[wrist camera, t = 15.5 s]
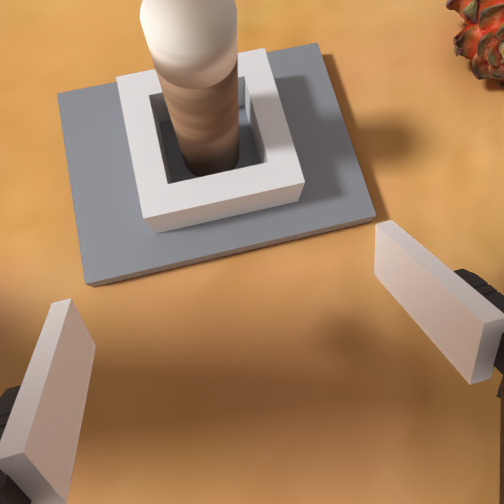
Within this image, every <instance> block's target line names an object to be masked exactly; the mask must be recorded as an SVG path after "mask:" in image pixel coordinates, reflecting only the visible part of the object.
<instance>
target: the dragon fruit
mask: <svg viewBox="0 0 504 504" xmlns="http://www.w3.org/2000/svg"><path fill="white" fill-rule="evenodd" d="M446 7H447V9H449V10H455V11H457V12H458V13H459V14H460V15H461V17H462V18H463V19H464V20H465V23H466V25H467V27H466V28H464V29H463V30H462V31H461V32H460V33H459V34H458V35H456V36H455V37H454V40H453V41H454V45H455V49H454V51H455V54H456V56H458V55H461V56H464V57H467V58H469V59H470V64H471V66H472V72H473V74H474V76H475V77H476V78H477V79H479V80H480V79H492V78H495V80H496V82H497V84H498V85H499V87H500V89H504V0H448V1H447V3H446Z"/></svg>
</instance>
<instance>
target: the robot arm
mask: <svg viewBox="0 0 504 504" xmlns="http://www.w3.org/2000/svg"><path fill="white" fill-rule="evenodd" d="M374 275H375V276H376V277H377V278H378V280H379V281H380V282H381V283H382V284H383V285H384V286H385V288H386V289H387V290H388V291H389V292H390V293H391V295H392V296H393V297H394V298H395V299H396V300H397V301H398V303H399V304H400V305H401V306H402V307H403V308H404V310H405V311H406V312H407V313H408V314H409V315H410V316H411V318H412V319H413V320H414V321H415V322H416V323H417V325H418V326H419V327H420V328H421V329H422V330H423V331H424V333H425V334H426V335H427V336H428V337H429V338H430V340H431V341H432V342H433V343H434V344H435V345H436V346H437V348H438V349H439V350H440V351H441V352H442V353H443V355H444V356H445V357H446V358H447V359H448V360H449V361H450V363H451V364H452V365H453V366H454V367H455V368H456V370H457V371H458V372H459V373H460V374H461V375H462V376H463V378H464V379H465V380H466V381H467V382H468V383H469V385H471V384H475V383H478V382H481V381H485V380H488V379H491V376H492V373H493V369H494V366H495V367H496V368H497V369H498V370H499V371H500V372H501V373H502V374H503V377H502V380H501V384H500V387H499V390H498V394H497V397H500V398H501V430H500V504H504V296H503V295H502V294H501V293H500V292H497V290H496V289H494V288H493V287H492V286H491V285H488V283H487V282H486V281H484V280H483V279H482V278H480V277H479V276H478V275H476V274H474V273H472V272H469V271H467V270H465V269H459V270H456V271H452V270H451V269H450V268H449V267H447V266H446V265H445V264H444V263H443V262H441V261H440V260H439V259H438V258H437V257H435V256H434V255H433V254H432V253H431V252H430V251H428V250H427V249H426V248H425V247H424V246H422V245H421V244H420V243H419V242H418V241H416V240H415V239H414V238H413V237H412V236H410V235H409V234H408V233H407V232H406V231H404V230H403V229H402V228H401V227H400V226H398V225H397V224H396V223H395V222H394V221H392V220H390V221H386V222H382V223H378V224H376V230H375V268H374ZM95 350H96V345H95V343H94V341H93V339H92V337H91V335H90V333H89V331H88V330H87V328H86V326H85V324H84V322H83V320H82V318H81V316H80V314H79V312H78V310H77V308H76V306H75V304H74V302H73V300H72V298H70V299H66V300H62V301H58V302H54V303H52V304H51V307H50V310H49V312H48V315H47V318H46V320H45V323H44V326H43V328H42V331H41V334H40V336H39V339H38V342H37V344H36V347H35V350H34V352H33V355H32V358H31V360H30V363H29V366H28V368H27V371H26V374H25V376H24V379H23V382H22V384H21V386H17V387H13V388H9V389H7V390H6V391H5V392H4V393H3V395H2V396H1V397H0V504H31V503H32V504H67V499H68V494H69V488H70V483H71V478H72V472H73V467H74V462H75V456H76V451H77V446H78V440H79V435H80V430H81V424H82V419H83V414H84V408H85V403H86V398H87V392H88V387H89V382H90V377H91V371H92V366H93V361H94V355H95Z"/></svg>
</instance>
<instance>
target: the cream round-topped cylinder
mask: <svg viewBox="0 0 504 504" xmlns="http://www.w3.org/2000/svg"><path fill="white" fill-rule="evenodd" d="M140 21H141V25H142V28H143V31H144V34H145V38H146V41H147V44H148V47H149V50H150V54H151V57H152V60H153V63H154V66H155V70H156V73H157V76H158V79H159V82H160V86H161V89H162V92H163V95H164V98H165V101H166V105H167V108H168V111H169V114H170V117H171V121H172V124H173V127H174V130H175V133H176V137H177V140H178V143H179V146H180V149H181V152H182V156H183V159H184V162H185V164H186V166H187V168H188V169H189V170H190V171H191V172H192V173H193V174H195V175H196V176H198V177H203V176H208V175H212V174H217V173H221V172H226V171H230V170H233V169H234V168H235V166H236V165H237V163H238V160H239V106H238V54H237V9H236V5H235V2H234V0H143V2H142V5H141V9H140Z"/></svg>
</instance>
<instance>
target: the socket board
mask: <svg viewBox="0 0 504 504" xmlns="http://www.w3.org/2000/svg"><path fill="white" fill-rule="evenodd" d="M237 54H238V106H239V160H238V163H237V165H236V166H235V168H234V169H233V170H230V171H226V172H221V173H217V174H212V175H208V176H203V177H198V176H196V175H195V174H193V173H192V172H191V171H190V170H189V169H188V168H187V166H186V164H185V162H184V159H183V156H182V152H181V149H180V146H179V143H178V140H177V137H176V133H175V130H174V127H173V124H172V121H171V117H170V114H169V111H168V108H167V105H166V101H165V98H164V95H163V92H162V89H161V86H160V82H159V79H158V76H157V73H156V70H155V69H154V70H149V71H144V72H139V73H133V74H128V75H123V76H118V77H116V80H117V82H114V83H109V84H104V85H99V86H93V87H88V88H83V89H78V90H73V91H68V92H63V93H58V94H57V97H58V103H59V110H60V117H61V124H62V130H63V137H64V144H65V151H66V157H67V164H68V171H69V177H70V184H71V191H72V198H73V204H74V211H75V218H76V225H77V231H78V238H79V245H80V252H81V258H82V265H83V272H84V279H85V284H87V285H89V286H92V287H96V286H100V285H105V284H109V283H113V282H117V281H122V280H126V279H130V278H134V277H138V276H143V275H147V274H151V273H155V272H160V271H164V270H168V269H172V268H177V267H181V266H185V265H189V264H194V263H198V262H202V261H206V260H210V259H215V258H219V257H223V256H227V255H232V254H236V253H240V252H244V251H249V250H253V249H257V248H261V247H266V246H270V245H274V244H278V243H282V242H287V241H291V240H295V239H299V238H304V237H308V236H312V235H316V234H321V233H325V232H329V231H333V230H338V229H342V228H346V227H350V226H354V225H359V224H363V223H367V222H371V221H372V220H373V219H374V218H375V217H376V216H377V215H376V213H375V210H374V207H373V204H372V201H371V198H370V195H369V192H368V189H367V186H366V183H365V180H364V177H363V175H362V172H361V169H360V166H359V163H358V160H357V157H356V154H355V151H354V148H353V145H352V142H351V139H350V137H349V134H348V131H347V128H346V125H345V122H344V119H343V116H342V113H341V110H340V107H339V104H338V101H337V99H336V96H335V93H334V90H333V87H332V84H331V81H330V78H329V75H328V72H327V69H326V66H325V63H324V61H323V58H322V55H321V52H320V49H319V46H318V43H313V44H308V45H303V46H298V47H293V48H288V49H283V50H278V51H272V52H267V53H266V51H265V48H262V49H257V50H252V51H246V52H241V53H237Z"/></svg>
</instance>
